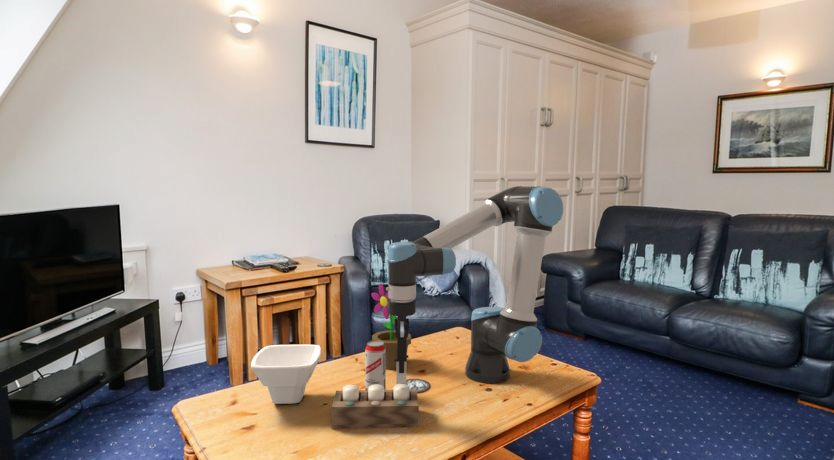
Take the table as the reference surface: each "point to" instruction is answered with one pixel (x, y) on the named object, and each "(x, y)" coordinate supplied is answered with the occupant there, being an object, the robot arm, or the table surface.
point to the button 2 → (401, 392)
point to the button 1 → (351, 393)
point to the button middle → (376, 392)
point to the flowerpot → (387, 336)
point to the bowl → (286, 370)
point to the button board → (375, 411)
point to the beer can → (375, 364)
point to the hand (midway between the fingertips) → (401, 382)
